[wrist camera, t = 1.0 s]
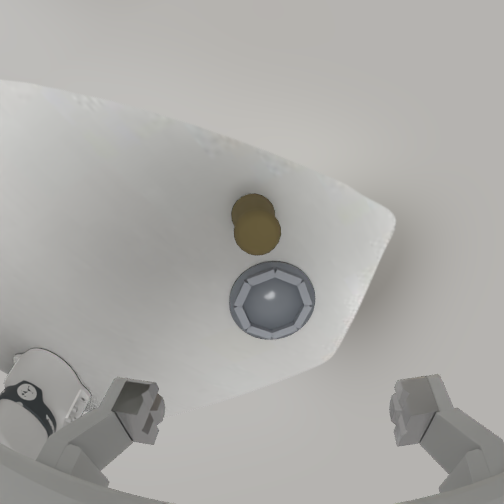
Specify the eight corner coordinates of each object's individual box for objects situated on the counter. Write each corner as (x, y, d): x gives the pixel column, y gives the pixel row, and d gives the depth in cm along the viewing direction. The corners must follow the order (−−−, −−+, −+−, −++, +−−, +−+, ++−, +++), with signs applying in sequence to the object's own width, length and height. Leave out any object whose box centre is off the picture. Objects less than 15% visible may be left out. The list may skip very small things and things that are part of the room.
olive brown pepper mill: (278, 231, 46) (291, 256, 36) (236, 240, 46) (236, 268, 36) (270, 189, 44) (280, 202, 34) (226, 198, 44) (224, 214, 34)
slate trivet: (291, 346, 52) (292, 352, 51) (216, 321, 50) (216, 327, 48) (328, 279, 49) (331, 284, 47) (250, 247, 47) (250, 251, 45)
